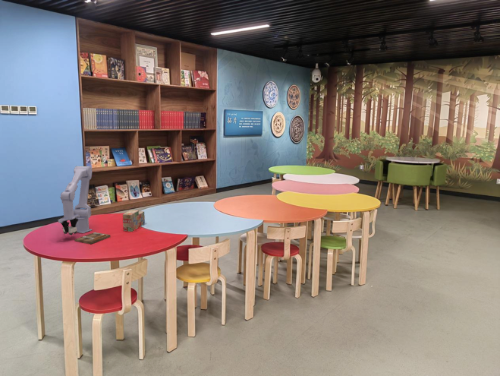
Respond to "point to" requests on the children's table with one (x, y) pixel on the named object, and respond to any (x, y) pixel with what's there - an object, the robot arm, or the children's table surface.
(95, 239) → the dock
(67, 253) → the children's table surface
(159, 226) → the children's table surface
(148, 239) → the children's table surface
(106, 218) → the children's table surface
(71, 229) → the beige box with tabs
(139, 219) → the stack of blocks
